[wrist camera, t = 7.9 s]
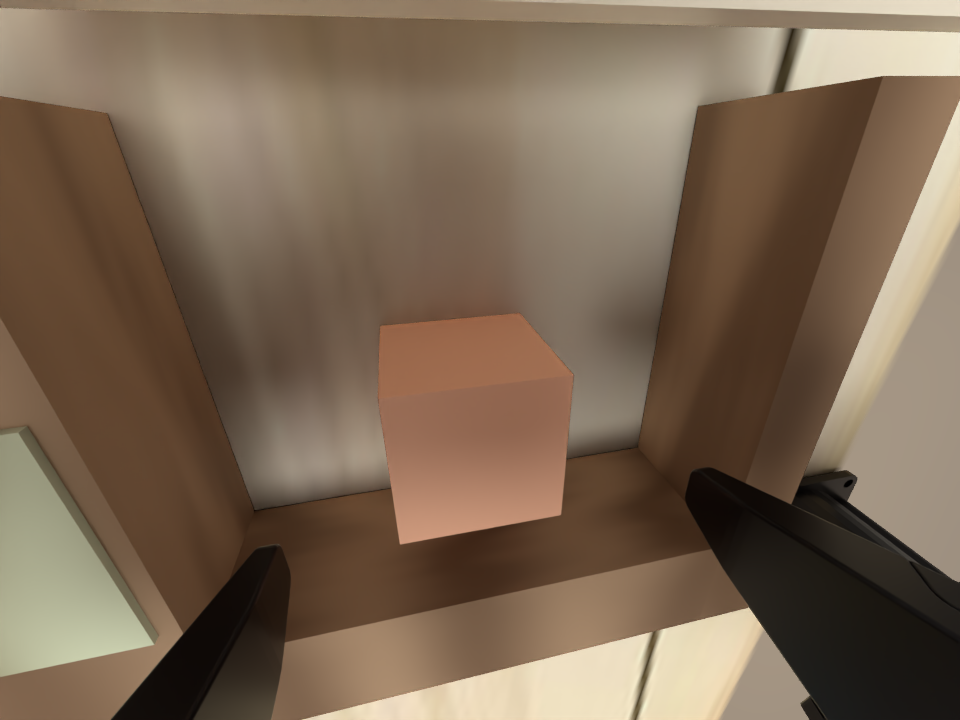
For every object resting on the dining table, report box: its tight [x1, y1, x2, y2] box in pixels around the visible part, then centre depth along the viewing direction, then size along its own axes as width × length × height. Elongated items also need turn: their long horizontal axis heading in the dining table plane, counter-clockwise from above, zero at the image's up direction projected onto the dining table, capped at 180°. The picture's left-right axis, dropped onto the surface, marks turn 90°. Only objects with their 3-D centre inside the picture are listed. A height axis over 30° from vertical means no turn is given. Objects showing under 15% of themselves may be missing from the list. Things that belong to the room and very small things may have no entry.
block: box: [378, 313, 574, 544], centre depth 12 cm, size 4×4×4 cm
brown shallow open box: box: [0, 76, 960, 720], centre depth 11 cm, size 24×16×5 cm, turn 91°
